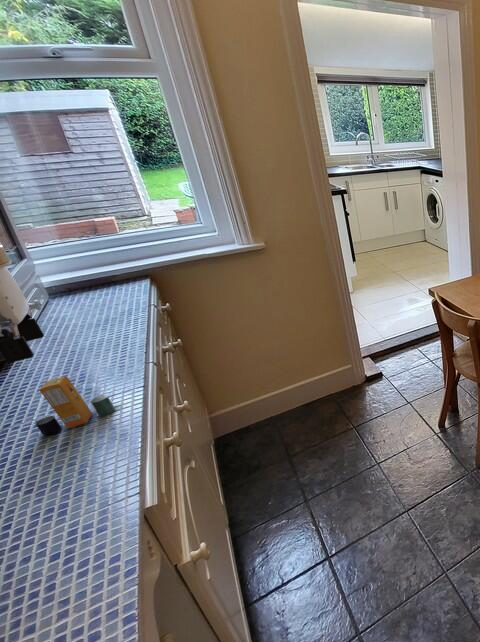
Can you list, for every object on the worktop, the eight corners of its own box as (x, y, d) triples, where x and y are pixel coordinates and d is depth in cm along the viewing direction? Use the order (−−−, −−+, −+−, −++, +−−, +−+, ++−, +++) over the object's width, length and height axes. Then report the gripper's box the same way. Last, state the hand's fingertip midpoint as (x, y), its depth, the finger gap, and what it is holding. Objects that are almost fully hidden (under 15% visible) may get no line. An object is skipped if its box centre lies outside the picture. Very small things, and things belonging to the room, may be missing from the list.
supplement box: (71, 420, 84) (46, 380, 80) (93, 414, 86) (69, 374, 81) (65, 429, 82) (37, 388, 77) (87, 423, 83) (62, 383, 79)
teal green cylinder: (95, 415, 85) (87, 402, 84) (108, 407, 88) (100, 394, 86) (105, 416, 85) (97, 403, 83) (118, 408, 87) (110, 395, 86)
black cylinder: (39, 436, 80) (31, 424, 79) (55, 427, 83) (47, 415, 81) (50, 437, 80) (42, 425, 78) (65, 428, 82) (57, 416, 81)
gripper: (-43, 254, 73) (9, 338, 80) (-82, 279, 60) (-17, 376, 67) (18, 246, 77) (62, 326, 84) (-7, 268, 65) (47, 360, 72)
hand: (27, 349), depth 76 cm, fingers open, 9 cm apart
